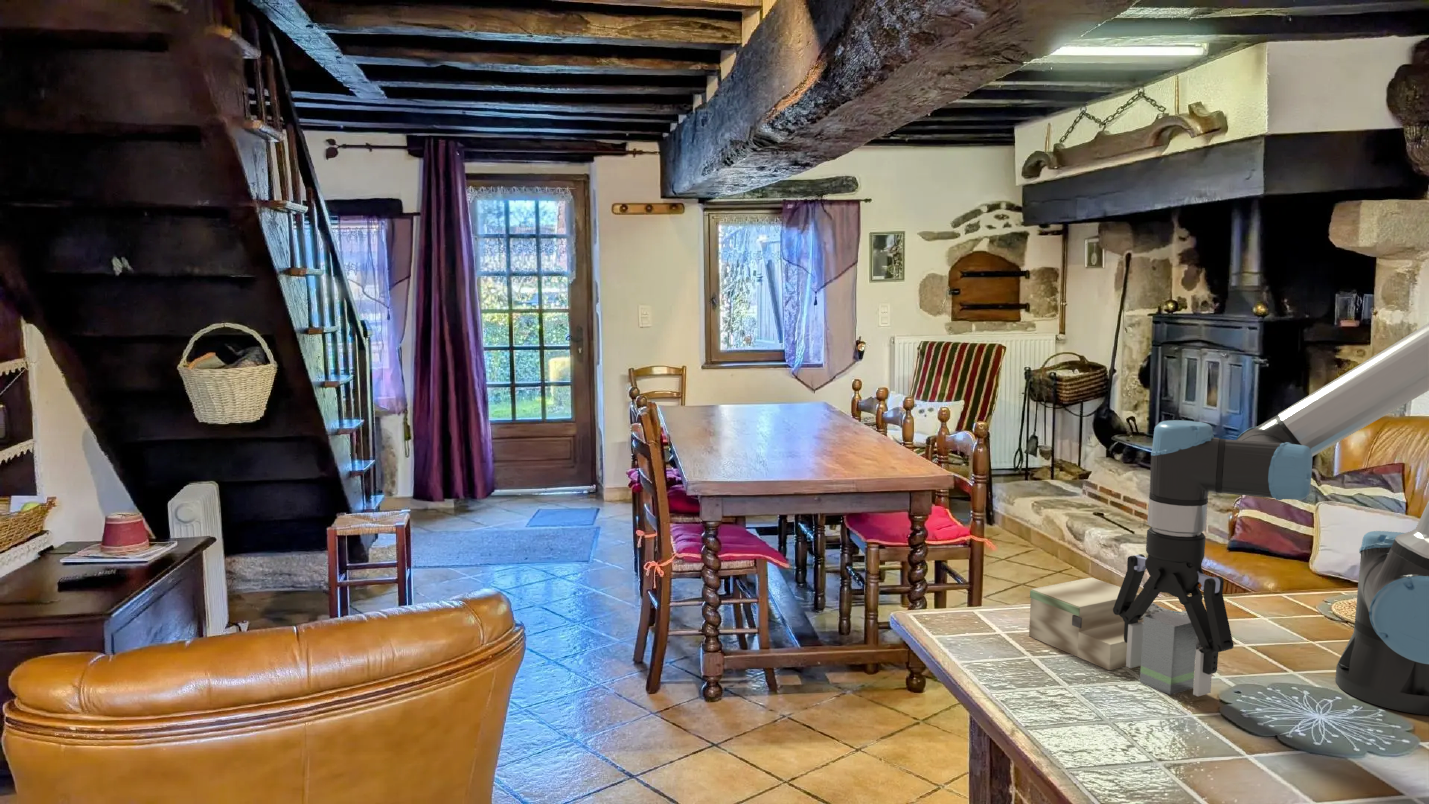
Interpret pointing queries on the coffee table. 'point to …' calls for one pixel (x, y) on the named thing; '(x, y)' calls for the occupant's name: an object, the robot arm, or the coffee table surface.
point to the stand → (1080, 620)
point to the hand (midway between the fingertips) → (1166, 679)
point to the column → (1168, 652)
